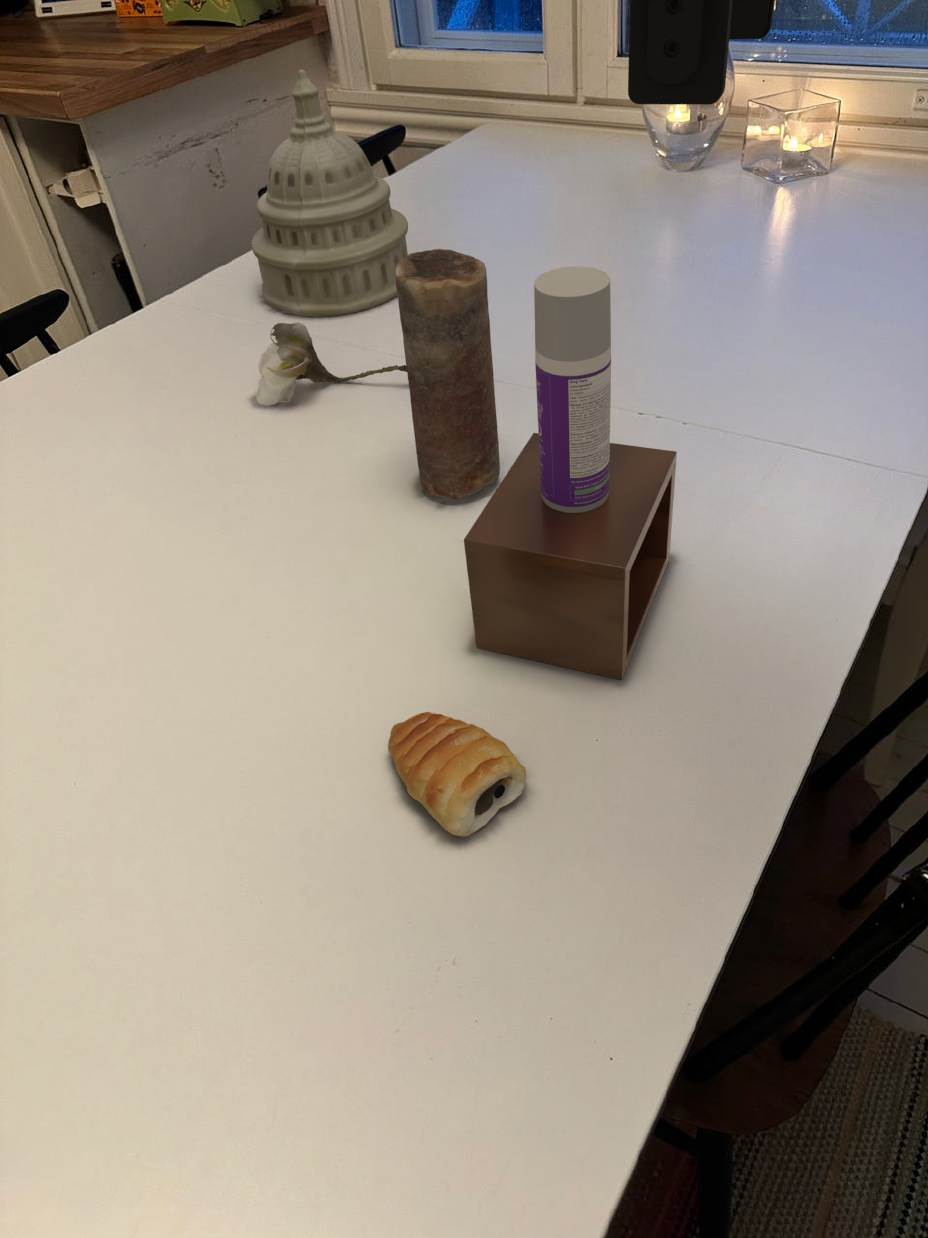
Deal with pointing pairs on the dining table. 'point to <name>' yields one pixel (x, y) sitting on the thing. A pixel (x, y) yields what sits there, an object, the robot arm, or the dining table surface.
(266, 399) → the artificial flower
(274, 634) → the dining table surface
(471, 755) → the pastry
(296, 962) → the dining table surface
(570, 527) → the shelf
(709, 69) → the robot arm
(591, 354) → the container
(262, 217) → the dome
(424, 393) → the brown rounded bar
